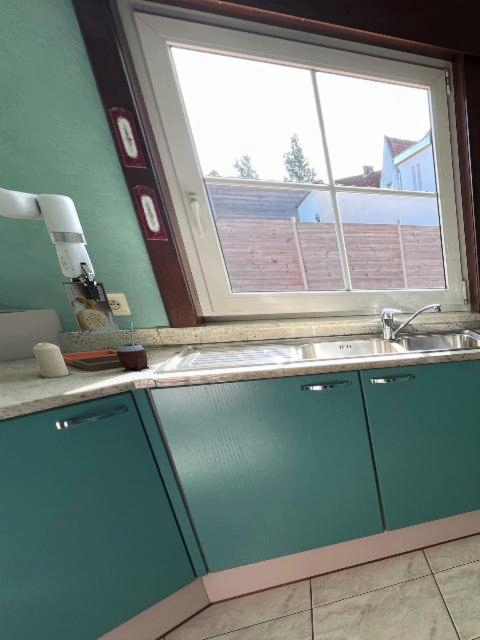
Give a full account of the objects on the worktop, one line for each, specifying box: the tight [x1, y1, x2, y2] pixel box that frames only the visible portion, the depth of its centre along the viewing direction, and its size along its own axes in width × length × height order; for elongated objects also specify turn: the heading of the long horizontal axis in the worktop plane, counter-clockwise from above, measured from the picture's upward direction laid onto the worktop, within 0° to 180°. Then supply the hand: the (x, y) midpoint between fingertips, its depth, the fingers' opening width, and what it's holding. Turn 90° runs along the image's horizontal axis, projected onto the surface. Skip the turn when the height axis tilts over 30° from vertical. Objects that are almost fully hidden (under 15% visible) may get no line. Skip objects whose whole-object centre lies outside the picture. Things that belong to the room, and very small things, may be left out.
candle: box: [32, 341, 69, 378], centre depth 150 cm, size 6×6×10 cm
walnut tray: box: [73, 355, 124, 372], centre depth 166 cm, size 14×13×2 cm
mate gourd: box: [115, 320, 150, 372], centre depth 159 cm, size 8×8×15 cm
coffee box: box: [62, 281, 121, 336], centre depth 159 cm, size 9×6×16 cm
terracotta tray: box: [62, 349, 117, 366], centre depth 172 cm, size 14×11×2 cm
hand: (88, 298), depth 158 cm, fingers closed on coffee box, 7 cm apart
